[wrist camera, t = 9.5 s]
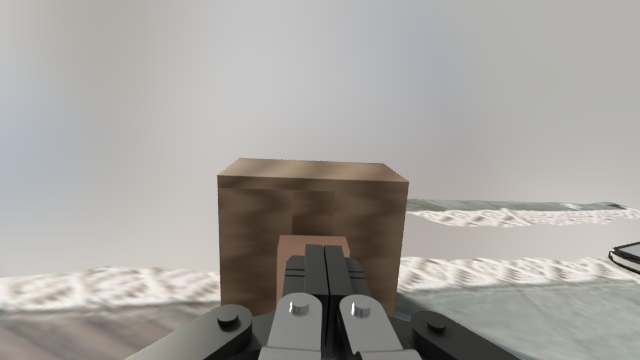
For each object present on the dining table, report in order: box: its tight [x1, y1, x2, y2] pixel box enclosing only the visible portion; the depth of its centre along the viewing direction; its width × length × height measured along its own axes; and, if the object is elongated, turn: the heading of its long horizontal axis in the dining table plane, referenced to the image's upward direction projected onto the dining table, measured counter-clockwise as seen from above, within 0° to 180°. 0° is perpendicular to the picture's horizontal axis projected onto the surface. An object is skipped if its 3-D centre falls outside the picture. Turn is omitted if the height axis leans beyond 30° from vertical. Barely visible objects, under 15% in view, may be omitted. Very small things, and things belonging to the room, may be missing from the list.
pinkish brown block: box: [276, 235, 350, 308], centre depth 31 cm, size 6×9×6 cm, turn 3°
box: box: [217, 158, 409, 318], centre depth 36 cm, size 18×10×16 cm, turn 93°
